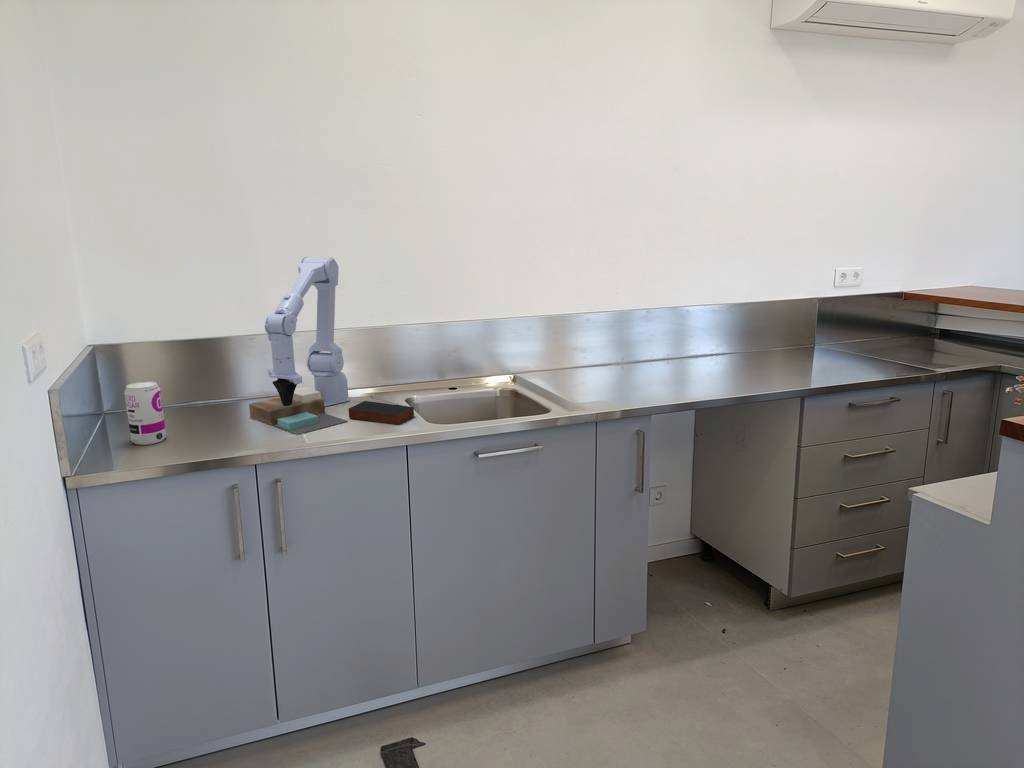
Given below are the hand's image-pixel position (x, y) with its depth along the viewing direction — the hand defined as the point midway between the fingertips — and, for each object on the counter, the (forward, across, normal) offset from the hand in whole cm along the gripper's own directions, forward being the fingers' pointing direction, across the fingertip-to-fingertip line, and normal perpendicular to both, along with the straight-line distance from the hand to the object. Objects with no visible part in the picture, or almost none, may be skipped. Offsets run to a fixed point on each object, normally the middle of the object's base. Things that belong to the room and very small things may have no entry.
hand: (287, 405), depth 203 cm
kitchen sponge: (+4, +17, +15) cm, 23 cm away
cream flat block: (+1, -6, +9) cm, 11 cm away
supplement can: (+5, -12, -33) cm, 36 cm away
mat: (+5, +6, +3) cm, 9 cm away
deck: (+5, -6, +4) cm, 9 cm away
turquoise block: (+3, +5, 0) cm, 6 cm away
